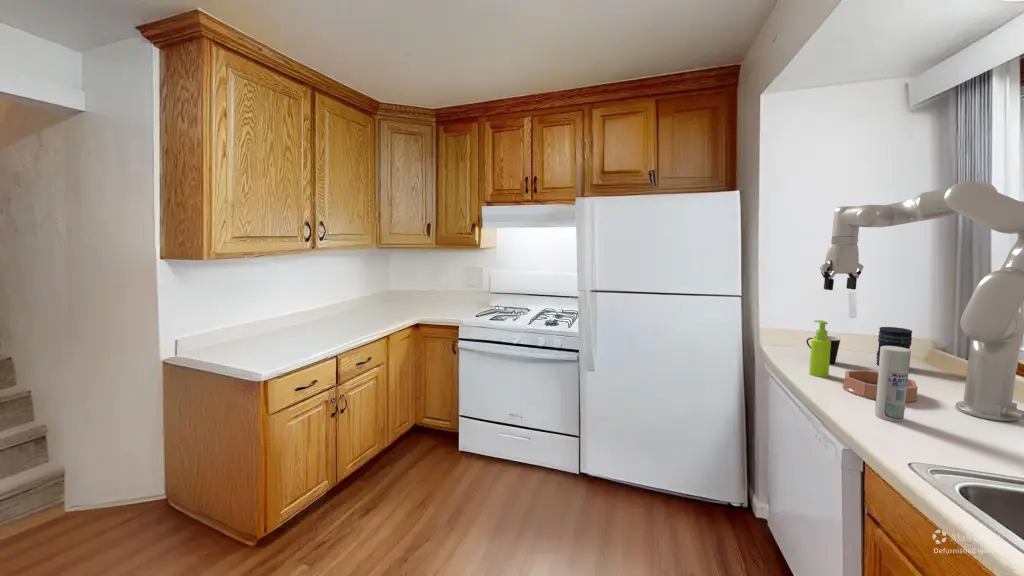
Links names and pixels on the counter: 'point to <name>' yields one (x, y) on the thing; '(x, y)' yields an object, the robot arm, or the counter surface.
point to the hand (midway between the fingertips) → (839, 289)
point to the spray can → (892, 383)
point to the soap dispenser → (820, 352)
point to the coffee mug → (834, 347)
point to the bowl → (872, 385)
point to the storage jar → (893, 338)
